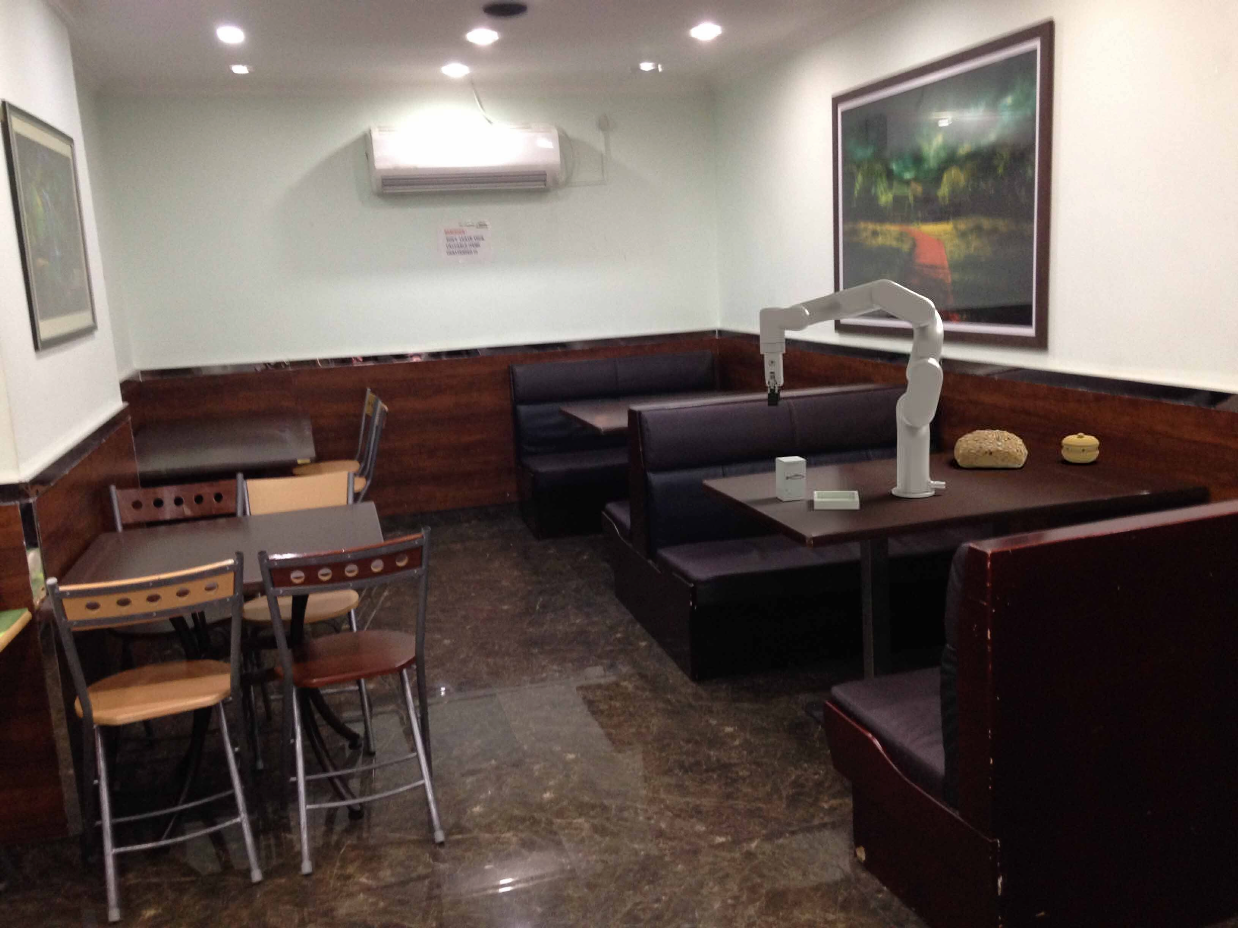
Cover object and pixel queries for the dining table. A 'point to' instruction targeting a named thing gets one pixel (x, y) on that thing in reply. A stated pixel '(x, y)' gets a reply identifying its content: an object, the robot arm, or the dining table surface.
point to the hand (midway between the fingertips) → (774, 403)
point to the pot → (1080, 448)
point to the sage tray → (836, 500)
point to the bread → (990, 450)
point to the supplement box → (791, 478)
